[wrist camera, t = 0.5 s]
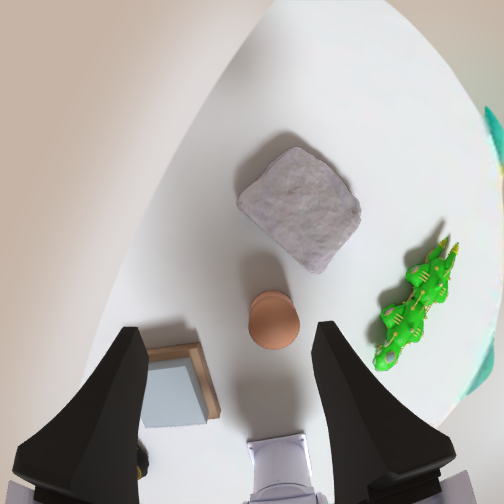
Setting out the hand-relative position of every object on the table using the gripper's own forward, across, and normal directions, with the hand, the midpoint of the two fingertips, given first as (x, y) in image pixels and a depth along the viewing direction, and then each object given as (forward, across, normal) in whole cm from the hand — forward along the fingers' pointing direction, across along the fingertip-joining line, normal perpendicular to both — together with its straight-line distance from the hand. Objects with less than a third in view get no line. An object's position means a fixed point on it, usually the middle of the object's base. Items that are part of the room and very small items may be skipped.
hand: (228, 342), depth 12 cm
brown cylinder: (+16, -4, +16) cm, 23 cm away
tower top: (+11, +8, +23) cm, 27 cm away
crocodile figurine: (+16, -22, +15) cm, 31 cm away
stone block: (+22, -8, +6) cm, 25 cm away
